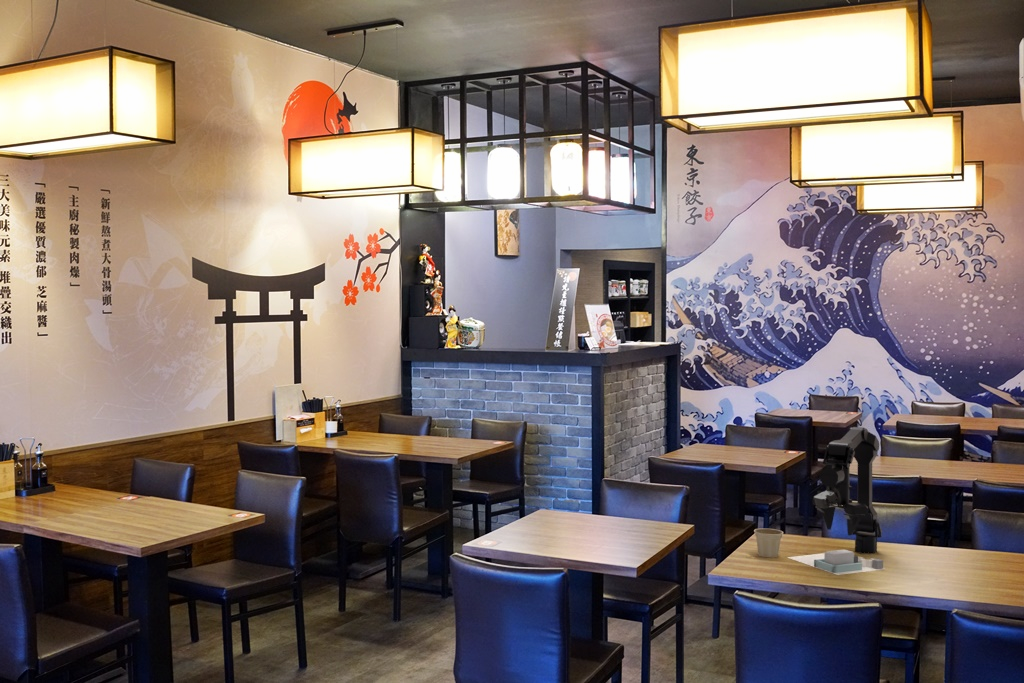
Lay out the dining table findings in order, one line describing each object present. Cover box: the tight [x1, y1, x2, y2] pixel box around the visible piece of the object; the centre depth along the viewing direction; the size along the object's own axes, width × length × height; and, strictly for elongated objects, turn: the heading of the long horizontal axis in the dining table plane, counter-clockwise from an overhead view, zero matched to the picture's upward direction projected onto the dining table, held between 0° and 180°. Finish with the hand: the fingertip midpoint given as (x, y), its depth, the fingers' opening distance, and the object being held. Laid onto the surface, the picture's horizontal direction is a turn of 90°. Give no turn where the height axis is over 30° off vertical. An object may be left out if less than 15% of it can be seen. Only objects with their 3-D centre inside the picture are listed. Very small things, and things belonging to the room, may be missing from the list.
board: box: [786, 552, 885, 576], centre depth 297 cm, size 19×24×1 cm
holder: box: [814, 559, 862, 574], centre depth 291 cm, size 9×11×2 cm
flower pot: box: [753, 528, 784, 558], centre depth 308 cm, size 9×9×9 cm
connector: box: [824, 549, 859, 566], centre depth 291 cm, size 4×11×5 cm, turn 112°
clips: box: [858, 557, 874, 568], centre depth 294 cm, size 5×5×2 cm
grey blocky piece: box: [858, 558, 884, 570], centre depth 292 cm, size 5×6×3 cm
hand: (839, 532), depth 291 cm, fingers open, 9 cm apart
